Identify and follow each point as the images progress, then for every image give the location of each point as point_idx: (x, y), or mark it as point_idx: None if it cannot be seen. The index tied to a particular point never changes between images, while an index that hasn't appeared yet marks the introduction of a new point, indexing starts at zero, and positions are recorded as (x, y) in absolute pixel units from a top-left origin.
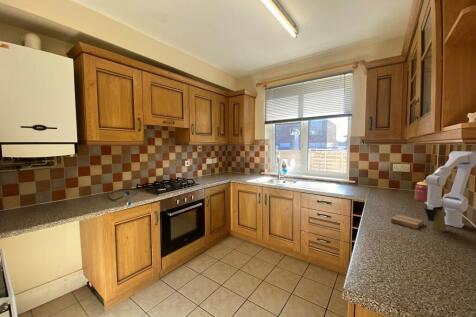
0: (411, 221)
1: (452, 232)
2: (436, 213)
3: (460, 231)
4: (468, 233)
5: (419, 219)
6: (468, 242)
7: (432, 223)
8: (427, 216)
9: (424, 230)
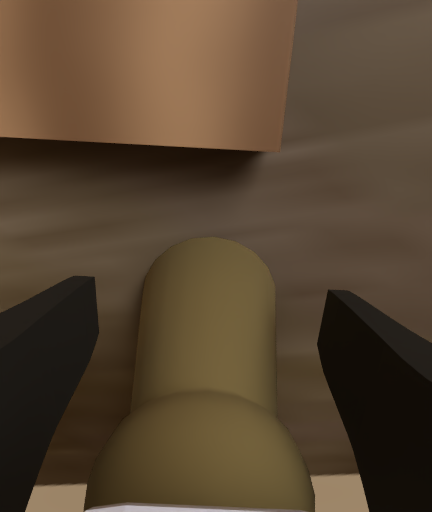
0: (9, 16)
1: None
2: (87, 485)
3: (316, 426)
4: (306, 463)
5: (281, 96)
6: (49, 474)
7: (173, 284)
8: (23, 302)
9: (9, 205)
